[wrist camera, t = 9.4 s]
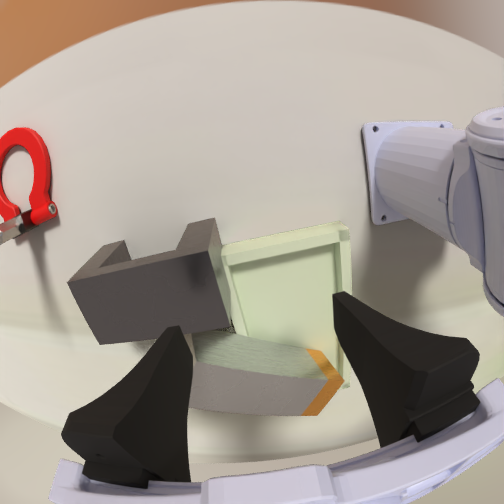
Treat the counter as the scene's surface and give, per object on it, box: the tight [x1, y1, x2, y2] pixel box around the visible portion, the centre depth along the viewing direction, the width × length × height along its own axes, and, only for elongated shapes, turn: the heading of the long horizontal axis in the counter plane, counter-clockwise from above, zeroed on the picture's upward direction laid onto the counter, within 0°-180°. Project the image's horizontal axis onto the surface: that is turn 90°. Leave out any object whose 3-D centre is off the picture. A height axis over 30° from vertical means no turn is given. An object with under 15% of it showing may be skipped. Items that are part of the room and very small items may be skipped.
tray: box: [221, 221, 352, 391], centre depth 23 cm, size 10×18×2 cm, turn 11°
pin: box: [184, 329, 345, 416], centre depth 21 cm, size 4×13×4 cm, turn 64°
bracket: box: [67, 218, 231, 345], centre depth 18 cm, size 9×5×6 cm, turn 101°
